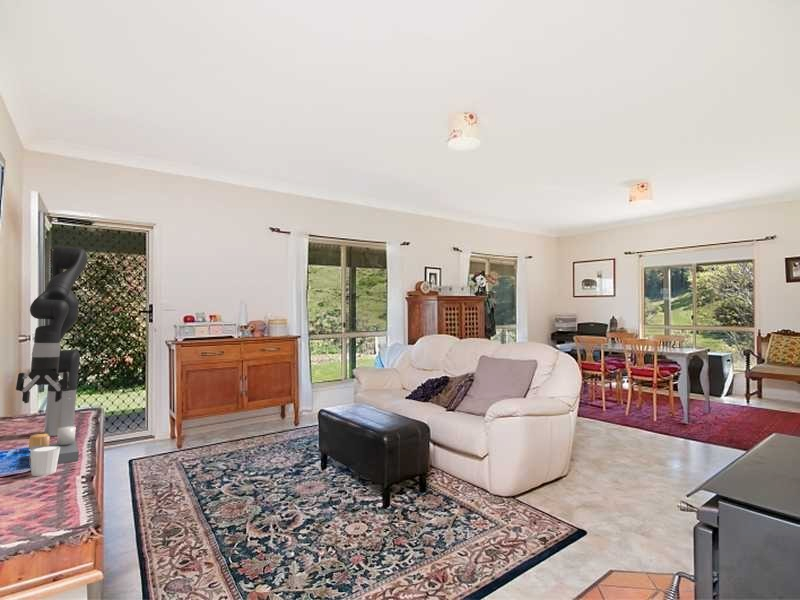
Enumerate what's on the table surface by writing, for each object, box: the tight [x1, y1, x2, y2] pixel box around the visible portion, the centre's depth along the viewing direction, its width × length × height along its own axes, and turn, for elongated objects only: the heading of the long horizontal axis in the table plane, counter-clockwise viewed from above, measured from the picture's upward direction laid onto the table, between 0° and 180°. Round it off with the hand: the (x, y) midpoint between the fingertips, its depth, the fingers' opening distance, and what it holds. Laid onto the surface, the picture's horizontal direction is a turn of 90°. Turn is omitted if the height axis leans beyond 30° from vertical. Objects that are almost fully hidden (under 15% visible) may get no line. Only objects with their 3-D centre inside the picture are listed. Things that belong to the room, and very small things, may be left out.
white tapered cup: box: [30, 446, 60, 477], centre depth 126 cm, size 7×7×7 cm
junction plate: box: [28, 425, 80, 466], centre depth 139 cm, size 16×12×9 cm
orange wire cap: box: [28, 433, 48, 449], centre depth 148 cm, size 5×5×5 cm
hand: (41, 402), depth 149 cm, fingers open, 8 cm apart
